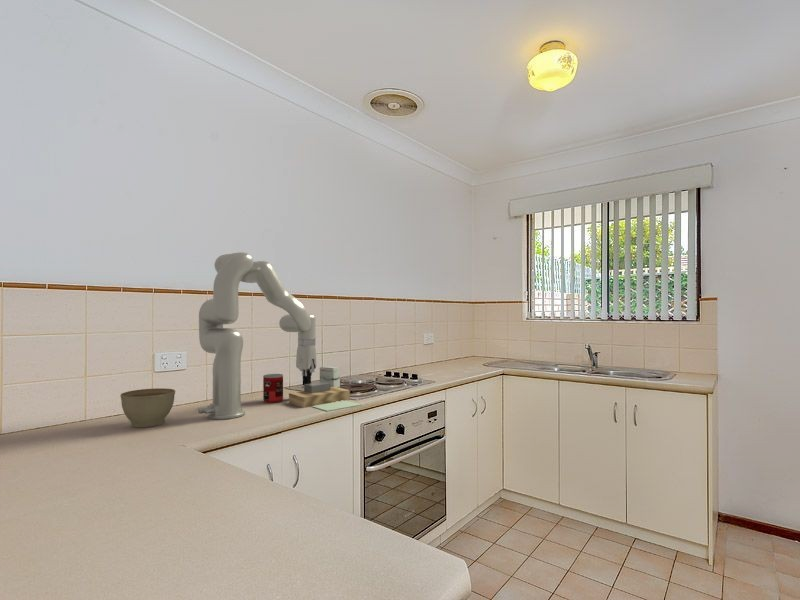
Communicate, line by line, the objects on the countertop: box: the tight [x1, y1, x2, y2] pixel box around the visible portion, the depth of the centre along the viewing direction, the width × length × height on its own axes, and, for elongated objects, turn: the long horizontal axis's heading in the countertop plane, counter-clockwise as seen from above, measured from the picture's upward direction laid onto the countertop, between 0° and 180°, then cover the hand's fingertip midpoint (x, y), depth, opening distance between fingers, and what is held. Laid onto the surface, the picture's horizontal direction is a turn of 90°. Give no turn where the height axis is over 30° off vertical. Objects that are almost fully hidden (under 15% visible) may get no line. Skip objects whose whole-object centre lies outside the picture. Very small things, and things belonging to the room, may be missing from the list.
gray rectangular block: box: [303, 381, 330, 393], centre depth 187 cm, size 9×6×3 cm, turn 132°
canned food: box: [262, 373, 284, 404], centre depth 187 cm, size 8×8×11 cm
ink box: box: [319, 366, 341, 388], centre depth 205 cm, size 9×5×12 cm, turn 58°
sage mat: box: [311, 400, 362, 412], centre depth 176 cm, size 16×11×1 cm
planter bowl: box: [120, 387, 176, 428], centre depth 150 cm, size 16×16×11 cm
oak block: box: [288, 387, 351, 408], centre depth 186 cm, size 22×12×4 cm, turn 132°
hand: (306, 385), depth 193 cm, fingers closed
